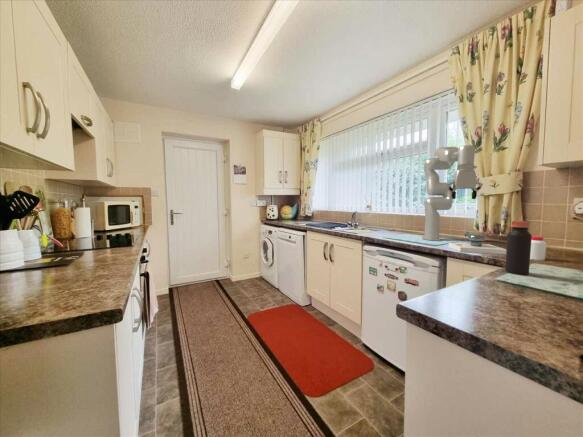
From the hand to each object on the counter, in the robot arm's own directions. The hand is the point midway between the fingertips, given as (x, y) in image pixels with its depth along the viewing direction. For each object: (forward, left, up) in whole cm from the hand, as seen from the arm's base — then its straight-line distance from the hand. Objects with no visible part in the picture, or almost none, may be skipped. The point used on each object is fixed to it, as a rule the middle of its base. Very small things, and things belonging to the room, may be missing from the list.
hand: (463, 198), depth 135 cm
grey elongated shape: (-8, +9, -27) cm, 29 cm away
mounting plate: (-4, +9, -30) cm, 31 cm away
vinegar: (+45, +2, -30) cm, 54 cm away
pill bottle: (+12, +27, -30) cm, 42 cm away
